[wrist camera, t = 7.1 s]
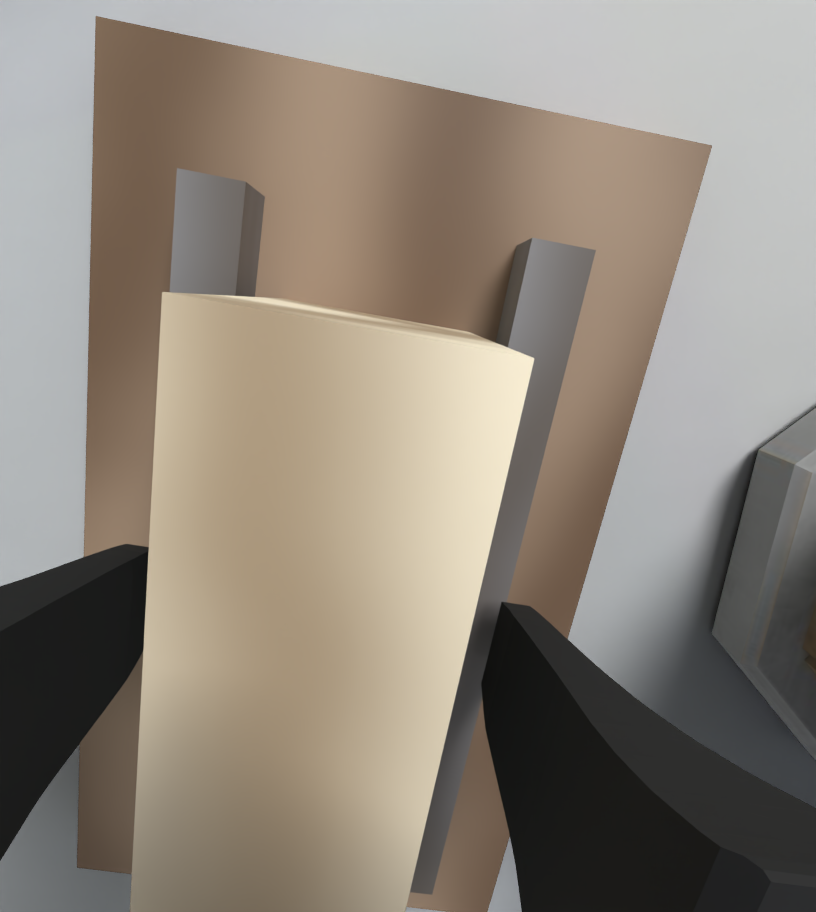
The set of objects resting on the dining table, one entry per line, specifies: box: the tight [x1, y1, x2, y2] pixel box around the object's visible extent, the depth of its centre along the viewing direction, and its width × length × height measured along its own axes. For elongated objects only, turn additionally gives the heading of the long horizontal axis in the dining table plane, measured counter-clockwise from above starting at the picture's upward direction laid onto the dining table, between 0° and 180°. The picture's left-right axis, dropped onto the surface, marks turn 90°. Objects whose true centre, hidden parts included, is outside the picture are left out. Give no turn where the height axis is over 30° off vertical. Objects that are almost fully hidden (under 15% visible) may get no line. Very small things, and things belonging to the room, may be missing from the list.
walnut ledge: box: [77, 16, 712, 912], centre depth 13 cm, size 12×21×3 cm, turn 170°
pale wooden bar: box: [130, 292, 534, 912], centre depth 10 cm, size 4×12×6 cm, turn 170°
